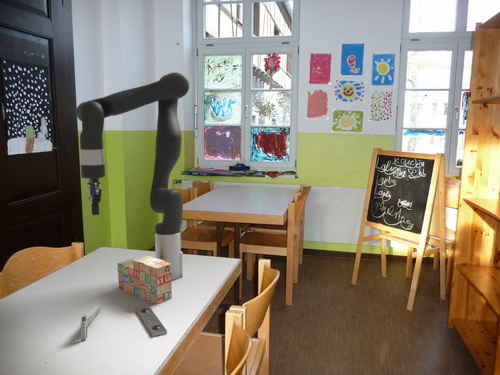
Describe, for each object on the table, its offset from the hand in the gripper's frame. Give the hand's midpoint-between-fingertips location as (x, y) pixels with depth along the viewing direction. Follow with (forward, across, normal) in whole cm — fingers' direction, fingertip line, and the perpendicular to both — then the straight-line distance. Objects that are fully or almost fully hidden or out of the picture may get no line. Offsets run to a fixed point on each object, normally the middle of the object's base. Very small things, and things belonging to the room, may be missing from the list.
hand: (95, 214), depth 137 cm
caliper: (+27, -25, +6) cm, 37 cm away
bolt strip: (+26, -32, -8) cm, 42 cm away
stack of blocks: (+27, -11, -13) cm, 32 cm away
